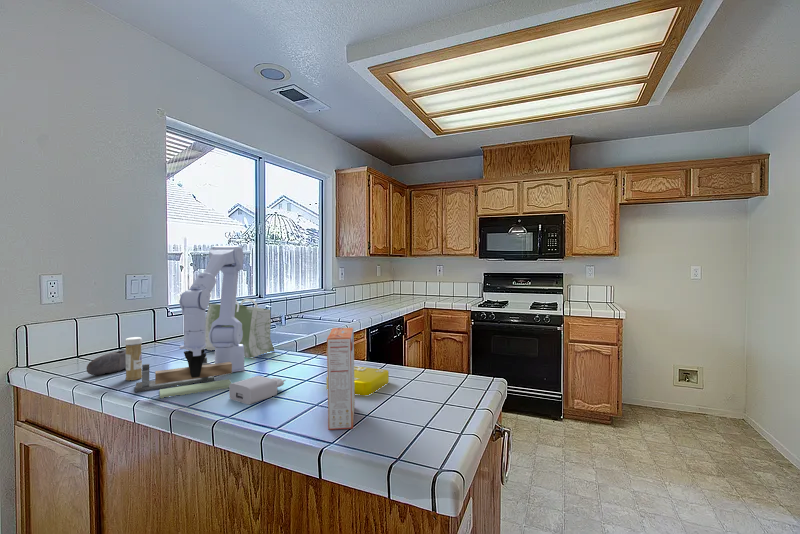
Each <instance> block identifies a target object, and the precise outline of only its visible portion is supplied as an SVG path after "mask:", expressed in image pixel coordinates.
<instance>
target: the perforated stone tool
mask: <svg viewBox="0 0 800 534" xmlns="http://www.w3.org/2000/svg"><path fill="white" fill-rule="evenodd" d="M122 370H126V349H123V350H118V351H113V352H109V353H106V354H102V355H100V356H98V357H95V358H94V359H92V360H91V361H89V362H88V364H87V365H86V373H87V374H89V375H91V376H101V375H106V374H105V373H109V374H112V373H113V374H114V373H117V371H118V372H120V371H122Z"/></svg>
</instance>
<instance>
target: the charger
mask: <svg viewBox="0 0 800 534" xmlns="http://www.w3.org/2000/svg"><path fill="white" fill-rule="evenodd" d="M285 382H286V379H282V378H277V377H273V378H270V377H266V376H262V375H256V376H252V377H248V378H246V379H243V380H242V379H241V380H240V381H235V382H231V384H230V385H229V388H228V396H229V399H230V400H231V401H235V402H239V403H242V404H244V405H249V406H250V405H252V404H255V403H258V402H260V401H263V400H267V399H270V398H272V396H273V397H275V396H277V395H278V388H279V387H282V386H283V385H284V384H285Z"/></svg>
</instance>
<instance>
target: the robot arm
mask: <svg viewBox="0 0 800 534" xmlns="http://www.w3.org/2000/svg"><path fill="white" fill-rule="evenodd" d="M208 256H209V260H208V262H207V266H206V267H205V269H204V271H203V272H200V273H198V275H197V276H196V278H195V279H194V281H193V282H192V284H191V286H190V288H188V289H187V290H184V292H182V293H181V294H180V298H179V301H178V303H179V307H180V309H181V314H182V316H183V345H179V349H180V350H185V351H183V354H184V357H185V359H186V361H187V364H188V367H189V368H190V374H191V377H192V378H194V377H200V373H201V368H202V364H203V361H204V359H205V357H207V354H208V353H207V352H205V351H206V350H205V349H204V348H205V347H206V315H207V311H206V309H208V307H209V304H210V299H211V296H212V294H211V293H212V291H213V289H214V287H215V286H216V284H217V279H216V277H217V276H218V274H219V273H220V272H221V273H222V274H223V276H222V284H221V285H222V286H221V295H220V314H219V318H218V319H216V320H215V321H214V322H212V325H211V329H210V332H209V341H210V343H211V344H213V347H215V351H214V364H217V363H225V362H231V363H232V373H236V372H243V371H246V369H245V357H244V346H243V344H239V343H240V342H241V340H242V337H243V331H242V323H241V322H240V321H239V320H237V319H236V318H235V306H236V304H237V303H236V300H237V293H238V279H239V272H240V271H242V270H243V267H244V251H243V248H242V247H241V245H212V246H211V248H209V252H208ZM221 326H234V327H221Z"/></svg>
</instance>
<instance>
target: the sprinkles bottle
mask: <svg viewBox="0 0 800 534" xmlns="http://www.w3.org/2000/svg"><path fill="white" fill-rule="evenodd" d="M142 343H143V338H142V336H141V337H140V336H133V337H132V336H131V337H128V338H127V337H126V338H125V340H124V344H125V350H126V369H125V380H126V381H129V382H131V381H137V380H140V379H142V365H143V363H142V361H143V360H142V357H143V354H142ZM130 380H131V381H130Z"/></svg>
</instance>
